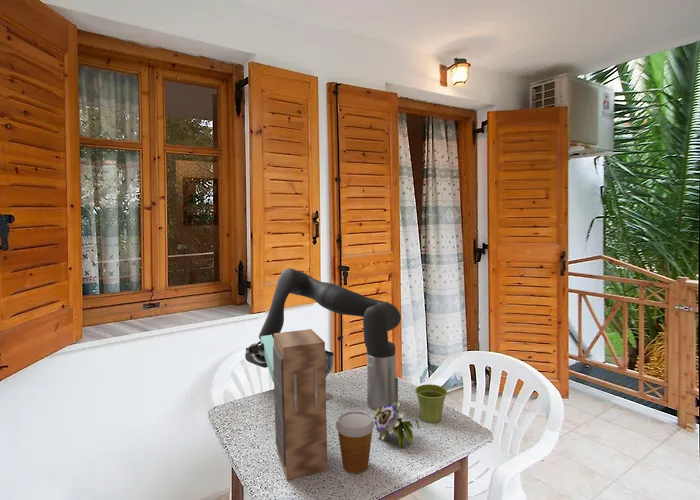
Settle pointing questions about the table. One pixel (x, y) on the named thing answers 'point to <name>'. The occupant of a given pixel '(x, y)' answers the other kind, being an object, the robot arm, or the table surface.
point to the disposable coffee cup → (355, 440)
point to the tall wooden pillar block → (300, 402)
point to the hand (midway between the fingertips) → (269, 345)
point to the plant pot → (431, 401)
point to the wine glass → (329, 368)
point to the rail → (268, 352)
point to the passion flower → (393, 423)
